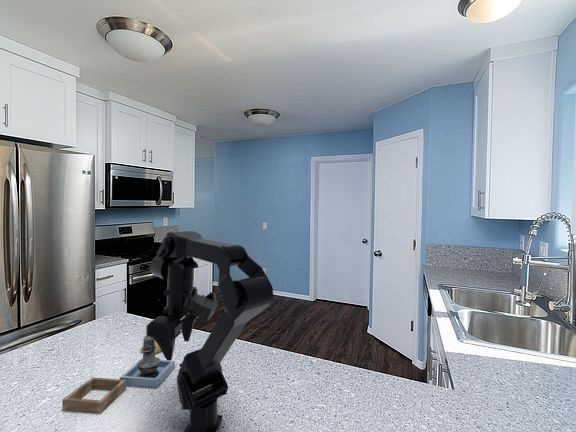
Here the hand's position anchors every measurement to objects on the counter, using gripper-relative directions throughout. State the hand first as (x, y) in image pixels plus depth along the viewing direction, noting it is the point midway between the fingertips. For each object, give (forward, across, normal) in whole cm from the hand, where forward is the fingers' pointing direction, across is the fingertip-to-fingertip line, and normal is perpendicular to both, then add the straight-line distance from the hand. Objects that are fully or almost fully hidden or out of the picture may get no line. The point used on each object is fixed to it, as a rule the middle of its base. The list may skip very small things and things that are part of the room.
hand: (178, 349), depth 71 cm
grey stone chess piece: (+13, +10, +13) cm, 21 cm away
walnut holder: (+14, -1, +20) cm, 24 cm away
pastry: (+15, +26, +20) cm, 36 cm away
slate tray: (+14, +10, +13) cm, 21 cm away
